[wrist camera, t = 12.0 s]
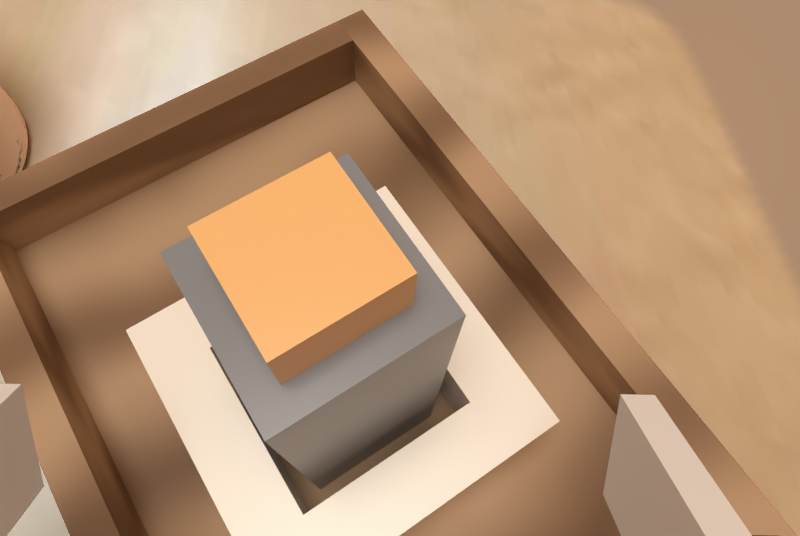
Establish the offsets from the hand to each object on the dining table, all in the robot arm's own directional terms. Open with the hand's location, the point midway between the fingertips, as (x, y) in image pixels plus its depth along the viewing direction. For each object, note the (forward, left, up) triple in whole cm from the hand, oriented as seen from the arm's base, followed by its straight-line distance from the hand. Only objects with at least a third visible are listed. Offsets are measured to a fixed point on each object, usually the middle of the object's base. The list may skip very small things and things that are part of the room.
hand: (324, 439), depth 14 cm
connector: (-2, +1, -8) cm, 9 cm away
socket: (-2, +1, -8) cm, 9 cm away
